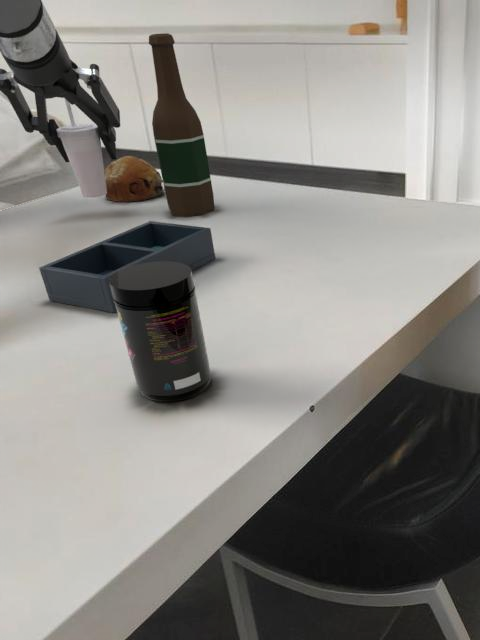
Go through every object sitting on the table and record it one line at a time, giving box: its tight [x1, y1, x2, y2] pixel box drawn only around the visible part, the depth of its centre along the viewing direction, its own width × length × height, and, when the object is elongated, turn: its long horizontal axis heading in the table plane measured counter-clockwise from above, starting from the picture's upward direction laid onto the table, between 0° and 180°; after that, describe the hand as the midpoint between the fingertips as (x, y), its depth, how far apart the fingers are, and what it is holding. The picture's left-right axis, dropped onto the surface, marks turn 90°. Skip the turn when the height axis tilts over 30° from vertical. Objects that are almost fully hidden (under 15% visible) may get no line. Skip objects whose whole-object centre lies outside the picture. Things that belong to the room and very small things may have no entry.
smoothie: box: [56, 98, 107, 199], centre depth 105 cm, size 6×6×14 cm
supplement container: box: [109, 261, 212, 403], centre depth 60 cm, size 7×7×10 cm
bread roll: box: [104, 155, 164, 203], centre depth 119 cm, size 10×10×8 cm
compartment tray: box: [38, 220, 216, 313], centre depth 85 cm, size 10×19×4 cm, turn 154°
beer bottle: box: [148, 32, 216, 218], centre depth 104 cm, size 8×8×24 cm
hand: (90, 152), depth 109 cm, fingers closed on smoothie, 6 cm apart
